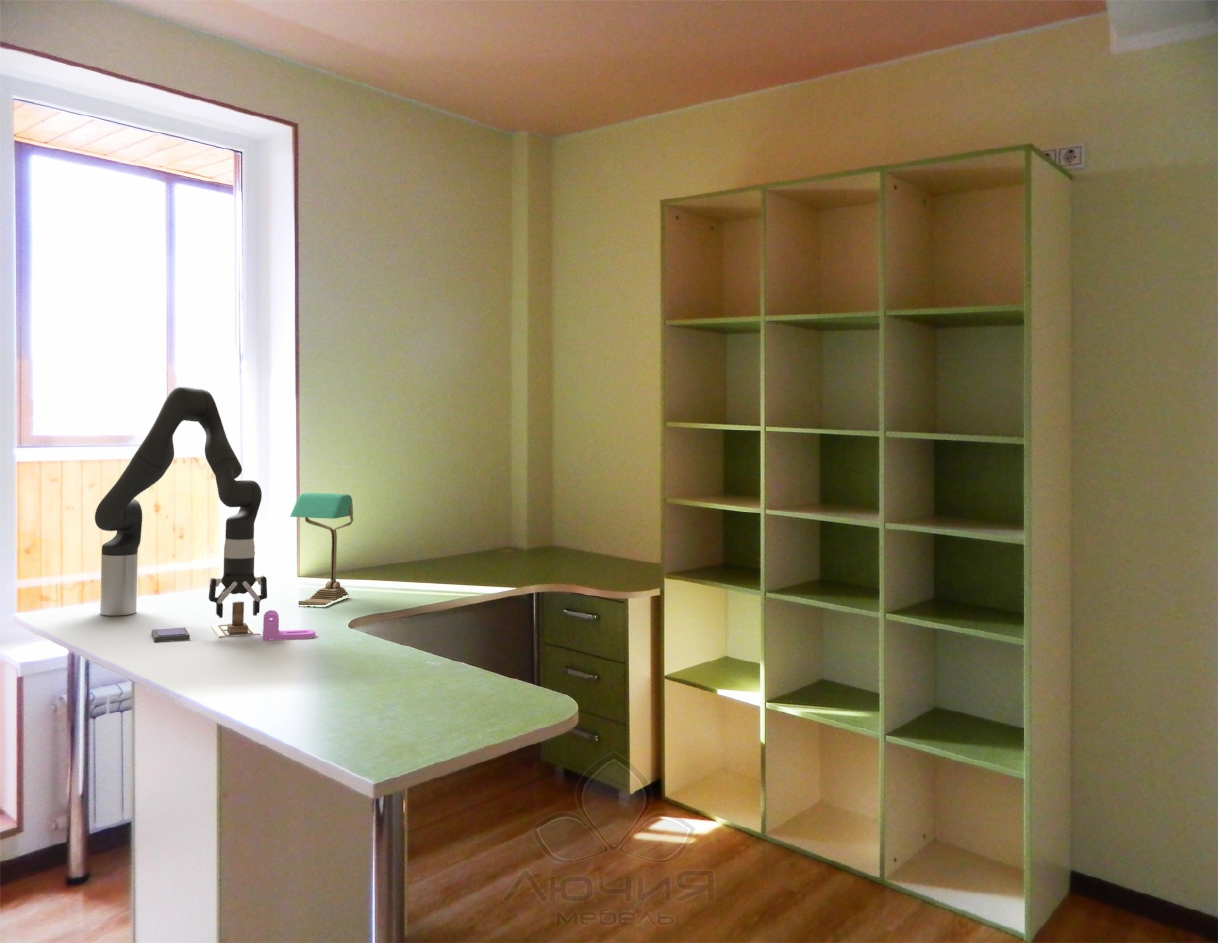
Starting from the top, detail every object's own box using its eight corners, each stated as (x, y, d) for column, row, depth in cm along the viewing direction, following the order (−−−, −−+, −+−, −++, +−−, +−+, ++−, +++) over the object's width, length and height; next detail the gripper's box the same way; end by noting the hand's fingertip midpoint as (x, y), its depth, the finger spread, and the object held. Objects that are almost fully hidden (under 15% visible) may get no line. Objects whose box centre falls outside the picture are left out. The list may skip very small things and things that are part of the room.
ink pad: (151, 634, 239) (151, 628, 239) (185, 632, 243) (185, 626, 243) (154, 641, 230) (155, 636, 230) (189, 639, 234) (189, 634, 234)
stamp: (227, 631, 244) (228, 601, 244) (245, 630, 247) (246, 600, 246) (229, 634, 240) (230, 604, 240) (247, 633, 243) (248, 603, 242)
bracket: (263, 640, 237) (263, 614, 236) (263, 636, 242) (263, 610, 242) (315, 638, 241) (316, 612, 241) (314, 634, 246) (315, 608, 246)
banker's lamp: (359, 598, 303) (362, 493, 303) (334, 609, 283) (337, 496, 282) (313, 596, 305) (316, 491, 304) (285, 606, 284) (288, 494, 283)
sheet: (211, 627, 250) (211, 625, 250) (250, 624, 255) (250, 623, 255) (219, 637, 238) (219, 635, 238) (259, 634, 243) (259, 632, 243)
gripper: (264, 553, 250) (263, 612, 250) (208, 554, 243) (206, 615, 243) (270, 556, 243) (268, 617, 244) (212, 558, 236) (210, 620, 237)
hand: (237, 616), depth 243 cm, fingers open, 8 cm apart
